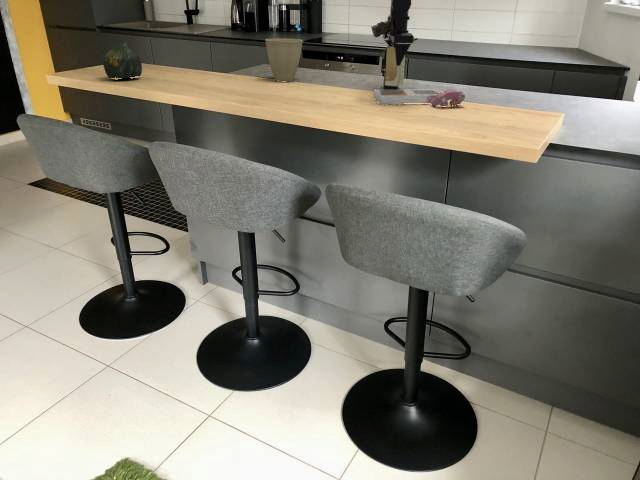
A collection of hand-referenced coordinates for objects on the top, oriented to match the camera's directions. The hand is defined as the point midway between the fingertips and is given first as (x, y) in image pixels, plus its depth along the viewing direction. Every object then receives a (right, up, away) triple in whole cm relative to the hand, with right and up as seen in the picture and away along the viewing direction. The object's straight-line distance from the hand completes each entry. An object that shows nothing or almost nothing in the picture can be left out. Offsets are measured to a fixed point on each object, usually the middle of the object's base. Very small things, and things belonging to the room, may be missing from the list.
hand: (395, 64), depth 169 cm
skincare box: (0, -6, +3) cm, 7 cm away
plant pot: (-40, +7, +43) cm, 59 cm away
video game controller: (+17, -15, -2) cm, 22 cm away
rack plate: (+5, -11, +6) cm, 13 cm away
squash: (-105, +7, +40) cm, 112 cm away
